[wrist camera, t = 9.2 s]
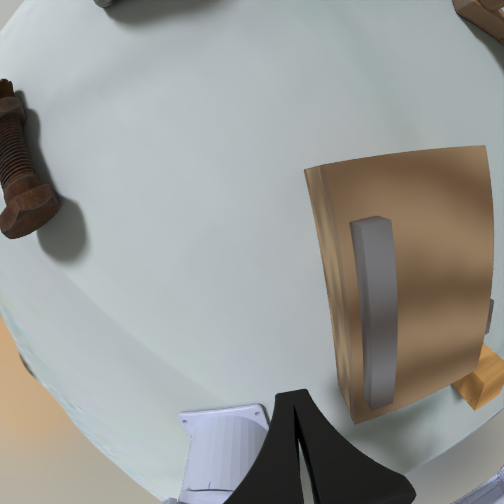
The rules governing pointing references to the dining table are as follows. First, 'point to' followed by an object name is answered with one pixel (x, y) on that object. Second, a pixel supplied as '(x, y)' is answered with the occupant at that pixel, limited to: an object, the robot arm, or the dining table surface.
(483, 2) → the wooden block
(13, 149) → the bolt
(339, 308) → the brown wooden open box
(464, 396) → the brown block
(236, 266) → the dining table surface
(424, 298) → the lid
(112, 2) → the mineral rock
